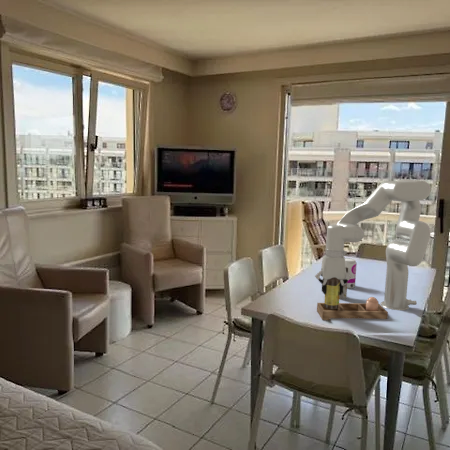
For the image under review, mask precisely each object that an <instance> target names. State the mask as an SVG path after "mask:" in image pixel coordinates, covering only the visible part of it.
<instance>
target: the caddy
mask: <svg viewBox="0 0 450 450" xmlns="http://www.w3.org/2000/svg"><path fill="white" fill-rule="evenodd" d="M316 312H317V313H318V315H319V318H321V320H322V321H331V319H359V320H361V319H362V320H363V319H364V320H367V319H369V320H370V319H371V320H375V319H376V320H388V315H389V312H388V311H387V310H386V308H385V307H383V306H381V303H378V311H366V302H365V303H364V302H361V303H360V302H359V303H358V302H357V303H355V302H354V303H353V302H339V305H338V309H327V308H325V303H324V302H317V304H316Z"/></svg>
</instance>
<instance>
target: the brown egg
mask: <svg viewBox="0 0 450 450" xmlns="http://www.w3.org/2000/svg"><path fill="white" fill-rule="evenodd" d="M365 301H366V302H365V303H366V311H378V304H379V301H378V299H377V298H376V297H373V296H370V297H369V298H367V299H366V300H365Z"/></svg>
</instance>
